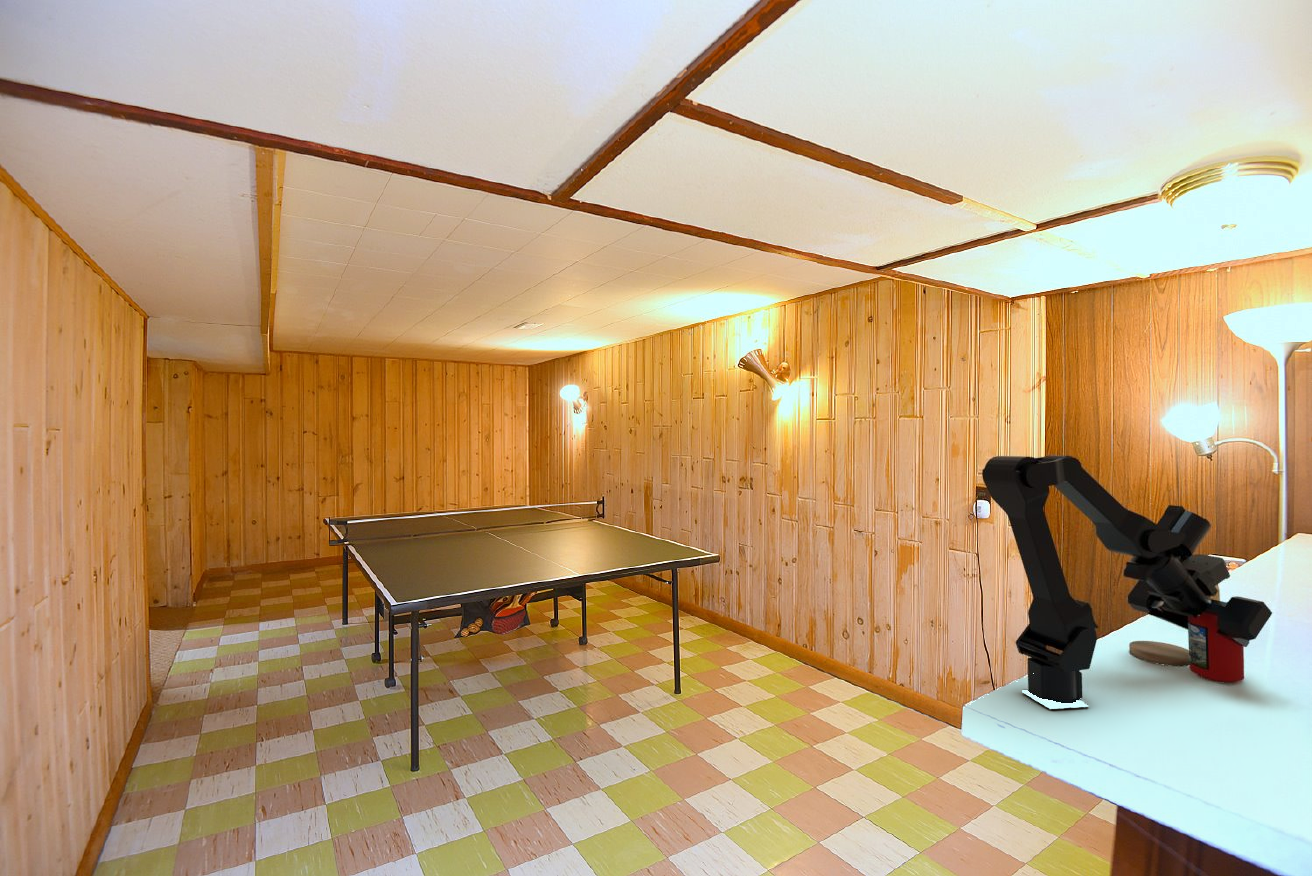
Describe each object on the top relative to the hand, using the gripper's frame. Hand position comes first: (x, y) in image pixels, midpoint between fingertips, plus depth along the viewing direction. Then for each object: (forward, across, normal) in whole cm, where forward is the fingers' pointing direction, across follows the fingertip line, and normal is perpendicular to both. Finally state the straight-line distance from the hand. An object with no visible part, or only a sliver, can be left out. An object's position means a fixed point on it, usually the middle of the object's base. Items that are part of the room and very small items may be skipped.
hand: (1221, 637), depth 100 cm
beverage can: (+4, 0, +6) cm, 7 cm away
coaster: (+4, +10, +5) cm, 12 cm away
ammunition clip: (+23, +20, -13) cm, 33 cm away
